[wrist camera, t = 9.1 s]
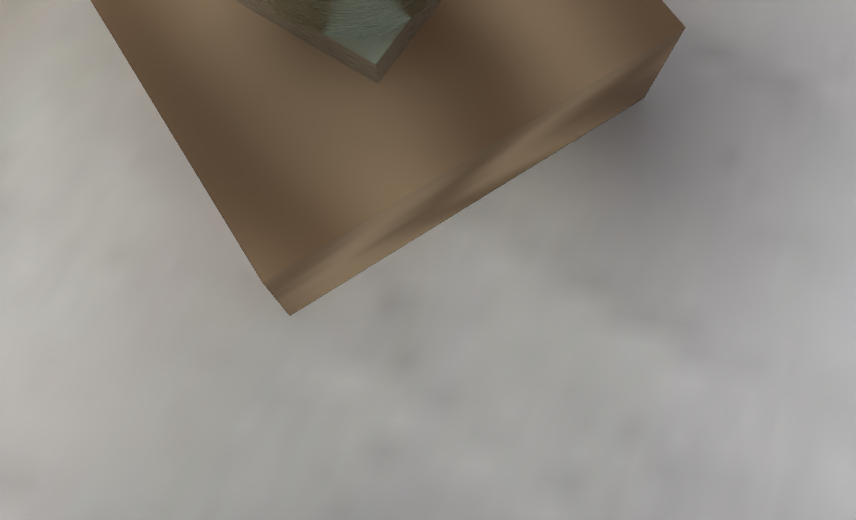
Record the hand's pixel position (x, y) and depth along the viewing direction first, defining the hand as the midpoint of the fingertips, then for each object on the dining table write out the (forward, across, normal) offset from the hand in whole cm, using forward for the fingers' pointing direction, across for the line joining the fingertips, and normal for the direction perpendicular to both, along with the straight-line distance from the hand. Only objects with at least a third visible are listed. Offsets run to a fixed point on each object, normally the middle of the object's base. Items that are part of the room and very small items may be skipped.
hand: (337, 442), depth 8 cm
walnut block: (+19, +5, 0) cm, 19 cm away
